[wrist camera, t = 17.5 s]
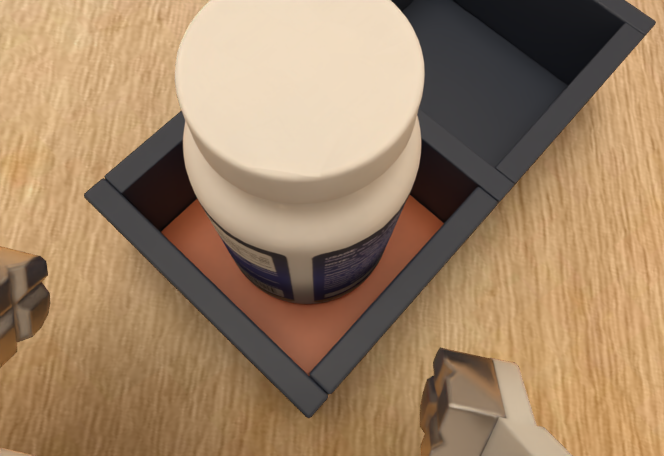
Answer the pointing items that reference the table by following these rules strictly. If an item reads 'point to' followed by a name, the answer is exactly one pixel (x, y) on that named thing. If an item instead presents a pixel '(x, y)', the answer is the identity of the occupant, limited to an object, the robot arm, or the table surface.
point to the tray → (426, 194)
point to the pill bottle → (301, 135)
